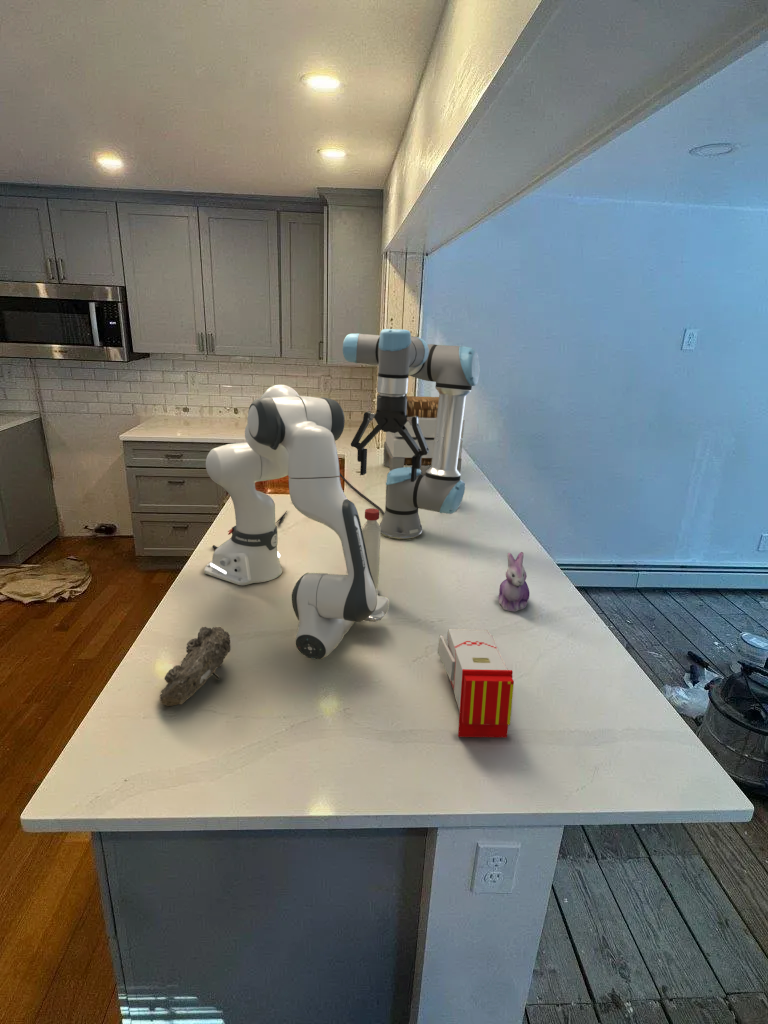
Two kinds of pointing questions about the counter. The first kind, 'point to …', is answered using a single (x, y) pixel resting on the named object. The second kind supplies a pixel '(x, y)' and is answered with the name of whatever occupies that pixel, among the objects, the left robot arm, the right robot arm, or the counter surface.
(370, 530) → the bottle
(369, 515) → the cap
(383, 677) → the counter surface
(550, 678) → the counter surface
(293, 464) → the left robot arm
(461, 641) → the toy
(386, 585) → the counter surface
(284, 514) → the feather
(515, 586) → the figurine
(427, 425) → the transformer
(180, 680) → the fossil
